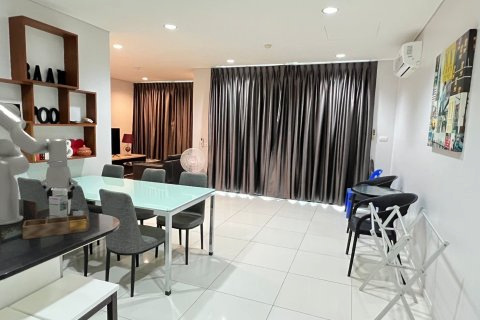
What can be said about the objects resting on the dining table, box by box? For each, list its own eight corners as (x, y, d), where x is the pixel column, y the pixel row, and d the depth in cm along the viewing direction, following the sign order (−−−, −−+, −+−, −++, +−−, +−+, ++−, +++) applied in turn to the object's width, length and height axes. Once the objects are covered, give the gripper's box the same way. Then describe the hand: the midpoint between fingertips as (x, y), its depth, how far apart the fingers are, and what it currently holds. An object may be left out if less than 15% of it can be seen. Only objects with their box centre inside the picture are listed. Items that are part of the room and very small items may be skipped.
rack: (22, 239, 127) (22, 226, 126) (24, 232, 134) (24, 220, 134) (88, 231, 140) (88, 219, 139) (87, 225, 147) (87, 214, 147)
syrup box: (59, 226, 144) (59, 197, 142) (49, 225, 145) (48, 196, 143) (68, 223, 149) (68, 194, 147) (58, 221, 150) (58, 193, 149)
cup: (72, 213, 163) (72, 187, 162) (65, 217, 156) (64, 190, 154) (59, 213, 163) (58, 186, 161) (51, 217, 156) (50, 189, 154)
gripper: (35, 164, 140) (37, 200, 142) (72, 165, 140) (73, 201, 142) (45, 162, 147) (47, 196, 149) (80, 163, 147) (81, 197, 149)
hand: (60, 198), depth 145 cm, fingers open, 9 cm apart
